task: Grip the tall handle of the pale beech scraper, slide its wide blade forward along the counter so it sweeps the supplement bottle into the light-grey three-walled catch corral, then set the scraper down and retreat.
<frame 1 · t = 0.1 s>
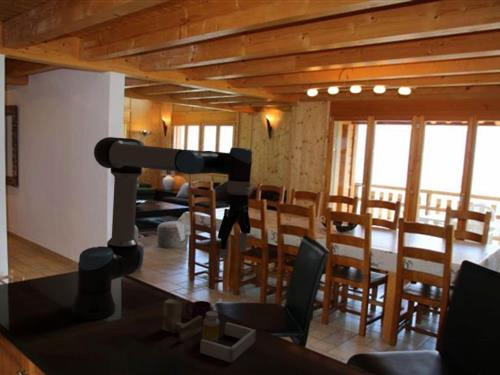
hand: (233, 254, 149), 28 cm above the kitchen counter, fingers open, 13 cm apart
corral: (227, 346, 141), on the kitchen counter
scraper: (171, 329, 151), on the kitchen counter
mug: (197, 321, 160), on the kitchen counter
supplement bottle: (209, 341, 144), on the kitchen counter
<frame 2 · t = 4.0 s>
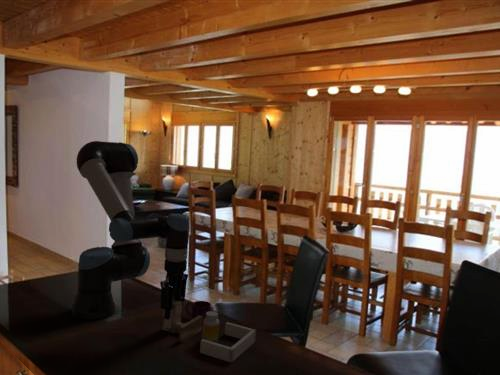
hand: (171, 325, 150), 2 cm above the kitchen counter, fingers closed on scraper, 3 cm apart
scraper: (171, 329, 151), on the kitchen counter, touching gripper
everything else where it was.
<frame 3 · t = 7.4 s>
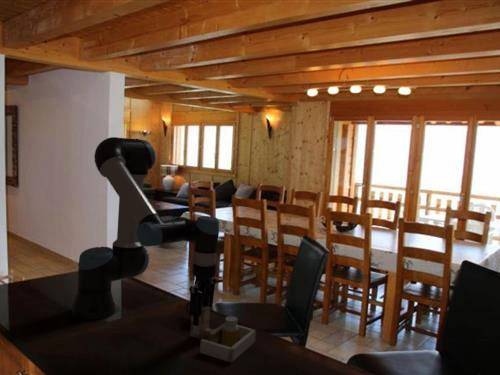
hand: (199, 331, 146), 2 cm above the kitchen counter, fingers closed on scraper, 3 cm apart
scraper: (199, 336, 146), point 1 cm above the kitchen counter, touching supplement bottle, gripper
supplement bottle: (229, 347, 141), on the kitchen counter, touching scraper
everything else where it was.
when the fingers open (2 cm above the kitchen counter, at t = 9.1 s): scraper stays where it is, on the kitchen counter.
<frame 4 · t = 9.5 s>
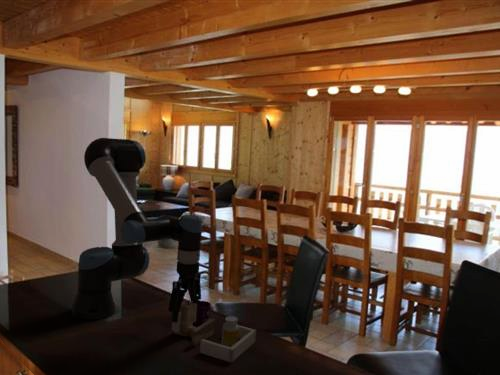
hand: (183, 325, 148), 3 cm above the kitchen counter, fingers open, 9 cm apart
scraper: (183, 333, 149), on the kitchen counter
supplement bottle: (229, 347, 141), on the kitchen counter
everything else where it was.
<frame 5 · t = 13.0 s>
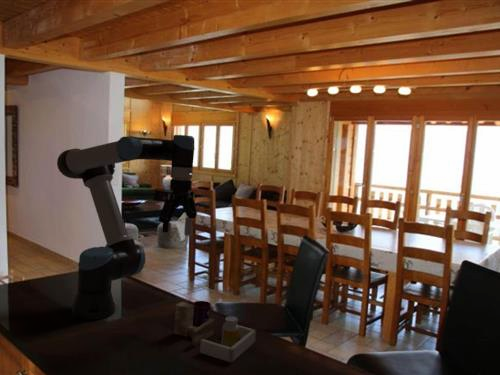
hand: (177, 238, 155), 31 cm above the kitchen counter, fingers open, 13 cm apart
nothing on the kitchen counter moved.
at the end: supplement bottle inside the target area (0.3 cm from its centre), on the kitchen counter; supplement bottle moved 7.3 cm from its start; the gripper is holding nothing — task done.
